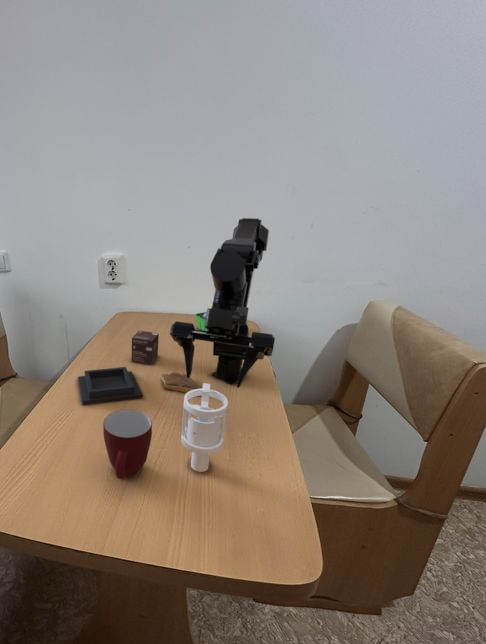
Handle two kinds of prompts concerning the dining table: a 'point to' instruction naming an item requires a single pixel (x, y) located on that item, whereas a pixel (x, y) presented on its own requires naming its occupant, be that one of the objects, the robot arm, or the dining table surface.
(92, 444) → the dining table surface
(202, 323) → the fruit basket
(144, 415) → the mug
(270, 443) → the dining table surface
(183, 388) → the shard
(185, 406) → the white stemmed open cylinder
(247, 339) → the robot arm
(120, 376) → the dock pad
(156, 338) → the box
